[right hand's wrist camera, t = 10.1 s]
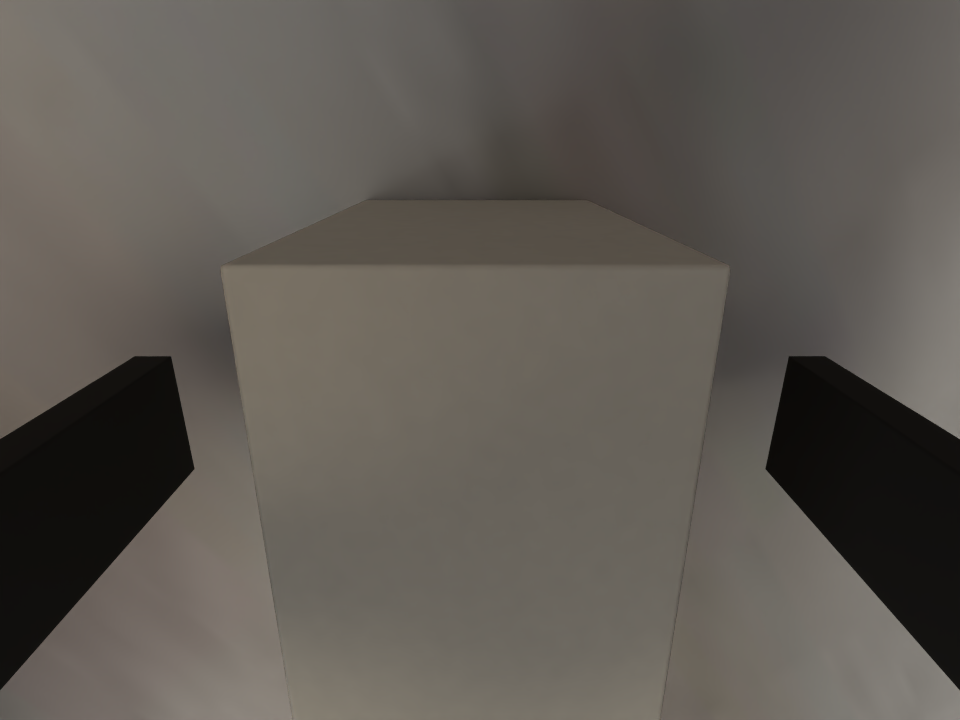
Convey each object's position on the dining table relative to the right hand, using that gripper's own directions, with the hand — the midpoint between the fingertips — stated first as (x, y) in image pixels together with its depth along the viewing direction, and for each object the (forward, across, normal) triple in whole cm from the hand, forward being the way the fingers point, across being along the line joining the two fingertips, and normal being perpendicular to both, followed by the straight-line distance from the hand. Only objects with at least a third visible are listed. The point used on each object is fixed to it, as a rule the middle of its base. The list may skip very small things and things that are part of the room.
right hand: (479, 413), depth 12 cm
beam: (+4, 0, -23) cm, 23 cm away
